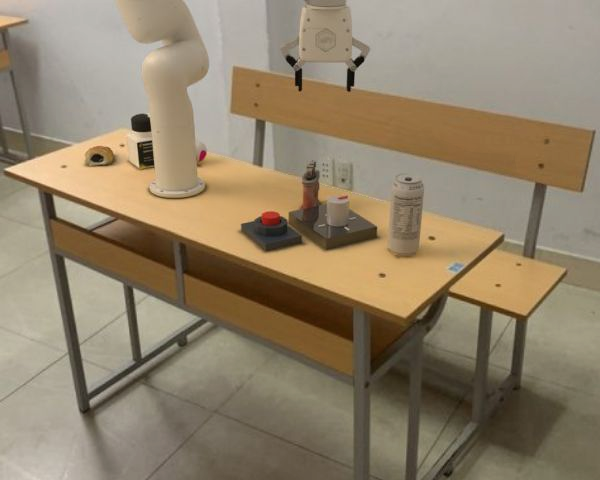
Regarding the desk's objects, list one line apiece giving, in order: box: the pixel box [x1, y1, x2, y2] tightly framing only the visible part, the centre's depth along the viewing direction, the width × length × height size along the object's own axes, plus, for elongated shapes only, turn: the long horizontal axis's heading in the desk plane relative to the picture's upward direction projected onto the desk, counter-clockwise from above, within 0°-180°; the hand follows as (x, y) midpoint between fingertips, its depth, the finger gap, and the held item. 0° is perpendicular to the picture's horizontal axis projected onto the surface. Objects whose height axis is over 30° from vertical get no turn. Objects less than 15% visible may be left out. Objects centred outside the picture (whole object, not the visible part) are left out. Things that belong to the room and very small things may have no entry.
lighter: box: [301, 160, 321, 209], centre depth 166 cm, size 8×3×10 cm, turn 168°
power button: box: [261, 210, 281, 226], centre depth 154 cm, size 4×4×2 cm
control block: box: [240, 215, 303, 252], centre depth 155 cm, size 11×8×4 cm
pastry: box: [84, 145, 115, 167], centre depth 194 cm, size 9×7×4 cm
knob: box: [326, 194, 350, 227], centre depth 155 cm, size 4×4×5 cm
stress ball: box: [195, 139, 208, 167], centre depth 193 cm, size 8×8×7 cm
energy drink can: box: [387, 173, 425, 258], centre depth 147 cm, size 6×6×15 cm
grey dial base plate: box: [288, 203, 378, 251], centre depth 158 cm, size 15×12×3 cm
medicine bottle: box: [126, 113, 155, 170], centre depth 191 cm, size 7×7×12 cm
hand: (324, 89), depth 154 cm, fingers open, 9 cm apart
